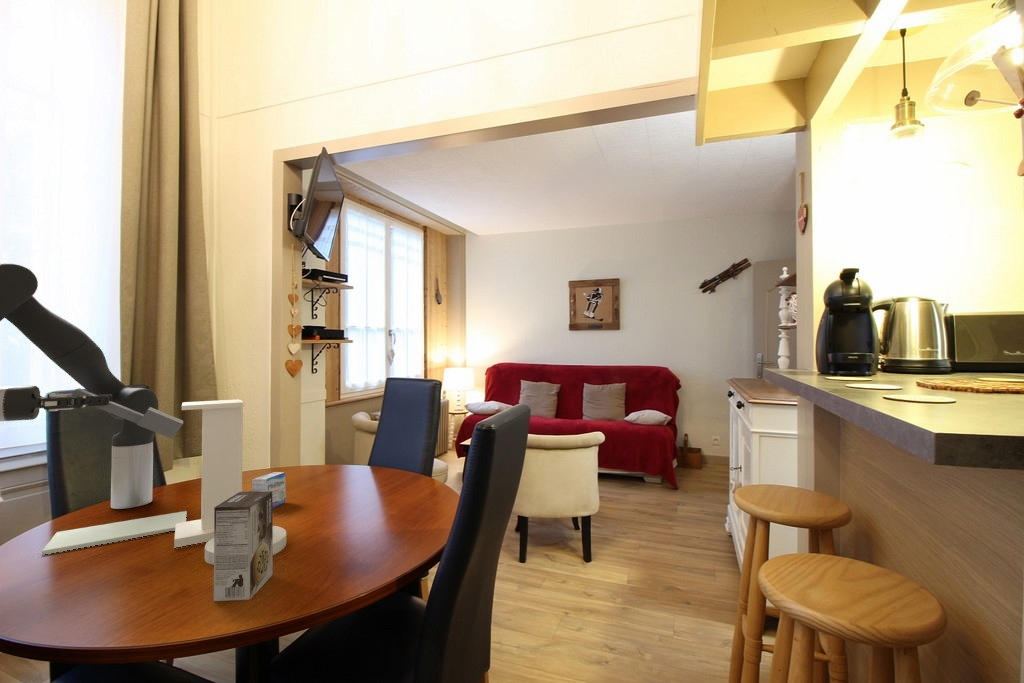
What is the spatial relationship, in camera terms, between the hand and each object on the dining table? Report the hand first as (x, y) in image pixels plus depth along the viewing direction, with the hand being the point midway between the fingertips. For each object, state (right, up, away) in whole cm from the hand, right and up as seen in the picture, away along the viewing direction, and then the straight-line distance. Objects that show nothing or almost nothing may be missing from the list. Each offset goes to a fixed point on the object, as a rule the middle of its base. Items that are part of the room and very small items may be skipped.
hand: (109, 399), depth 110 cm
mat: (+3, -32, +1) cm, 32 cm away
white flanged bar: (+24, -32, 0) cm, 40 cm away
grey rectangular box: (+48, -31, -27) cm, 63 cm away
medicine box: (+28, -33, +19) cm, 47 cm away
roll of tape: (+38, -32, -10) cm, 51 cm away
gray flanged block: (+2, -4, +1) cm, 5 cm away
